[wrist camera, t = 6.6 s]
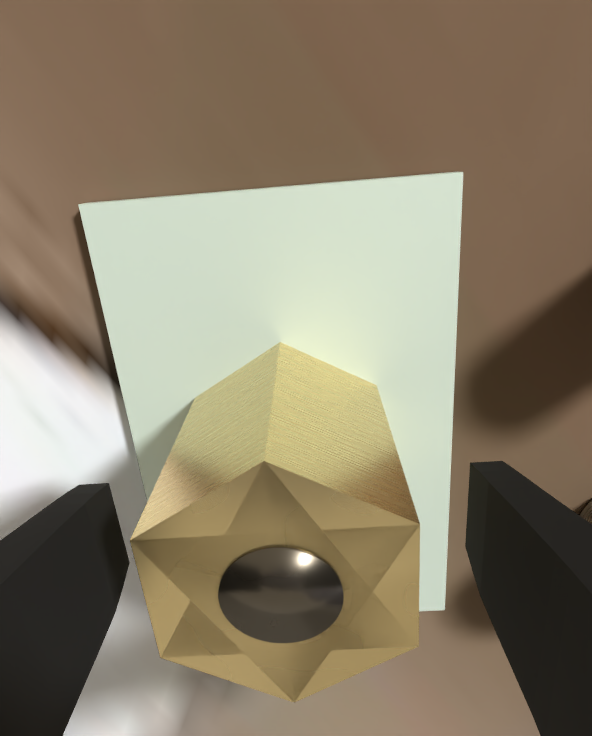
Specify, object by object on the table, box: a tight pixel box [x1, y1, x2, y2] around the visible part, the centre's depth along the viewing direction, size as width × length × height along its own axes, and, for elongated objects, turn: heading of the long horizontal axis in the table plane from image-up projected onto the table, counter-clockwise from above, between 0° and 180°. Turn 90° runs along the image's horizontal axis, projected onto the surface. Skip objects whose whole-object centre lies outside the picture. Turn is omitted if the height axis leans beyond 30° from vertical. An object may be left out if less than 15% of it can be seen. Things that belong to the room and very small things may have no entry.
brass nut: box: [130, 342, 420, 702], centre depth 10 cm, size 5×4×5 cm
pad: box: [78, 172, 463, 611], centre depth 13 cm, size 12×8×1 cm, turn 5°
